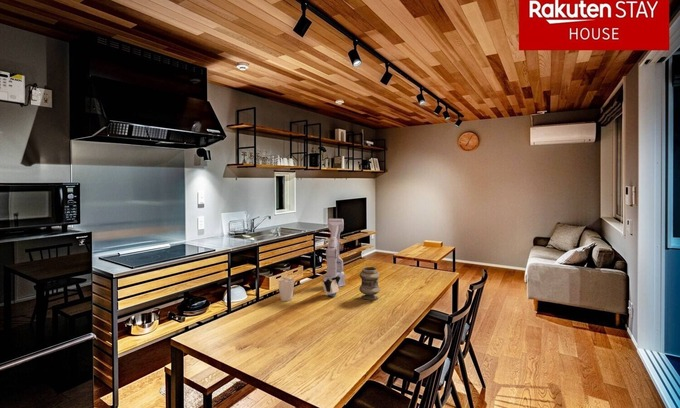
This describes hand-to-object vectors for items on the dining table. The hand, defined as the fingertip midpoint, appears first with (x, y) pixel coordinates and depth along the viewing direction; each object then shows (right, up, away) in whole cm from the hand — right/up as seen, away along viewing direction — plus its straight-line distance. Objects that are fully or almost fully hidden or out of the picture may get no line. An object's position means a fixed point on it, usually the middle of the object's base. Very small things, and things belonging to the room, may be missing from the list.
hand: (331, 290), depth 209 cm
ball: (0, -1, -1) cm, 1 cm away
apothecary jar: (+22, -4, -3) cm, 23 cm away
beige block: (+1, -2, 0) cm, 2 cm away
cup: (-26, -4, -5) cm, 27 cm away
